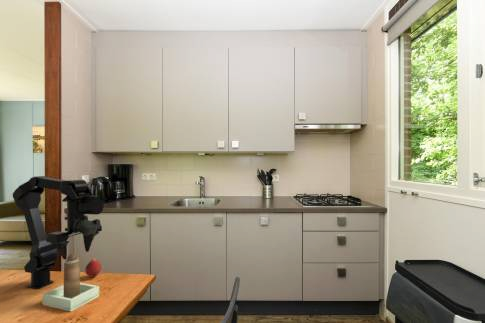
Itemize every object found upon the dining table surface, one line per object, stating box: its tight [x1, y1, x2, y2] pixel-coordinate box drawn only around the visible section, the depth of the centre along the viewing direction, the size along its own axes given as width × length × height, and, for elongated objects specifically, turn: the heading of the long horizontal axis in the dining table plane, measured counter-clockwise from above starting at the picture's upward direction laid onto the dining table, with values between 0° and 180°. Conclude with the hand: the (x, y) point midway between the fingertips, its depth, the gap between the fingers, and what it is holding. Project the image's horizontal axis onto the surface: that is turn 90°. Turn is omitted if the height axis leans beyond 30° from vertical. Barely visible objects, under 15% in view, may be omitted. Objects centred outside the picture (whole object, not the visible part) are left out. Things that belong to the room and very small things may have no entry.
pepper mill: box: [63, 253, 81, 299], centre depth 96 cm, size 5×5×15 cm
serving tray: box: [42, 282, 100, 312], centre depth 96 cm, size 13×11×4 cm
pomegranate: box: [85, 257, 102, 278], centre depth 115 cm, size 6×6×8 cm
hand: (76, 255), depth 104 cm, fingers open, 9 cm apart
